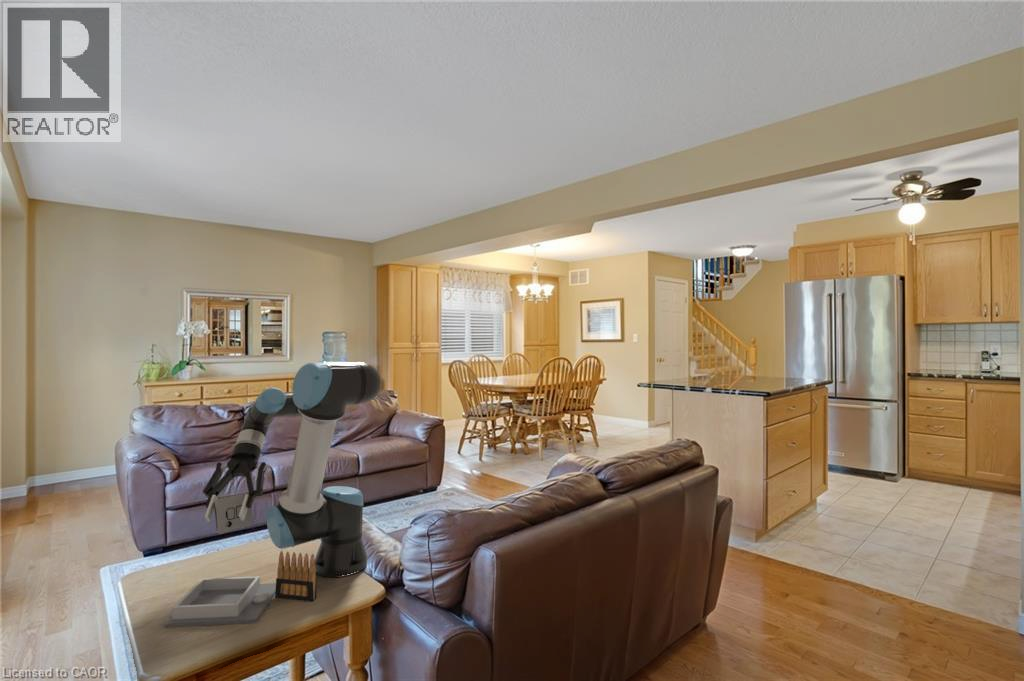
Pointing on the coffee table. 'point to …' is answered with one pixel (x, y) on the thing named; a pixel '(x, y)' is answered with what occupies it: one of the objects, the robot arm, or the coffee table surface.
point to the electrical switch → (231, 514)
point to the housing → (222, 602)
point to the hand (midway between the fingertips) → (224, 518)
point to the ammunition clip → (296, 578)
